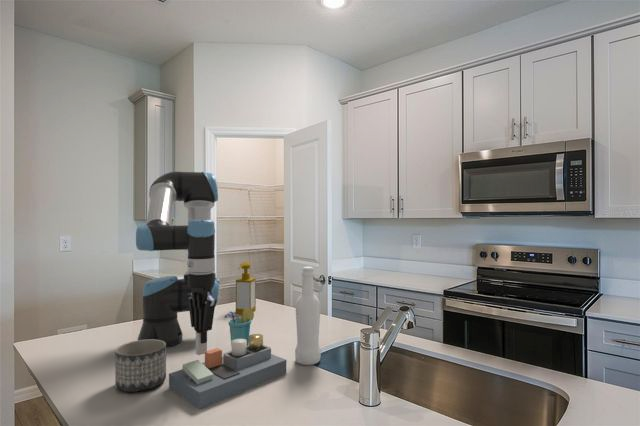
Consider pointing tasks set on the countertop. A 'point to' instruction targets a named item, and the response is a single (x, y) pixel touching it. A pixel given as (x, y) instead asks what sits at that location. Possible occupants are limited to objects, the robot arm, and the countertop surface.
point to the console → (229, 377)
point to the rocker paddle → (198, 371)
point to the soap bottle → (245, 290)
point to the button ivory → (239, 347)
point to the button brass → (255, 342)
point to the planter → (140, 365)
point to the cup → (240, 325)
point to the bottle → (307, 322)
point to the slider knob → (213, 357)
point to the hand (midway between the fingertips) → (201, 353)
